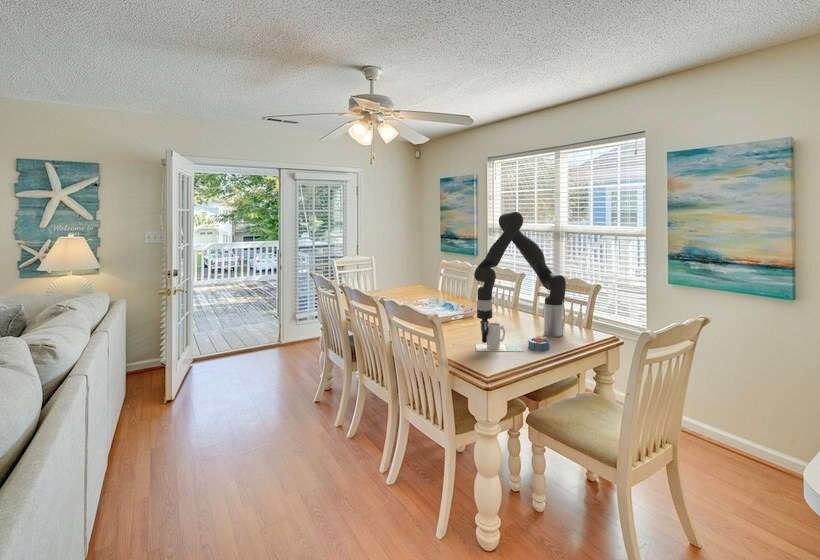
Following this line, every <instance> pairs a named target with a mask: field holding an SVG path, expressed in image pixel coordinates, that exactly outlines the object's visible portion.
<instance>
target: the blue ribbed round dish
mask: <svg viewBox="0 0 820 560" xmlns="http://www.w3.org/2000/svg"><path fill="white" fill-rule="evenodd" d="M536 337H537V336H535V337H529V338H528V345H527V346H528V349H529V350H531V351H534V352H546V351H549V350H550V339H548V338H546V337H542V338H543V339H544V341H545V342H543V343H539V342H534V341H533V340H534V339H535V338H536Z"/></svg>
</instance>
